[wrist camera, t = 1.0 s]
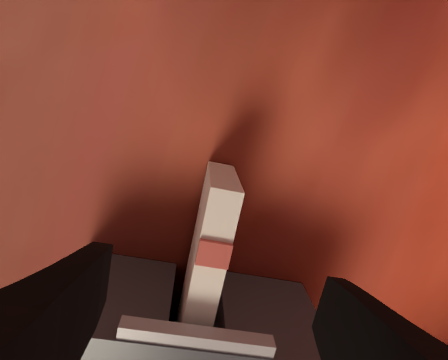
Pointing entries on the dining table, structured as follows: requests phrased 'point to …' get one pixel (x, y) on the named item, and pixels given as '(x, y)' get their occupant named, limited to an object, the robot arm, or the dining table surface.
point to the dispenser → (196, 334)
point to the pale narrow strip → (211, 245)
